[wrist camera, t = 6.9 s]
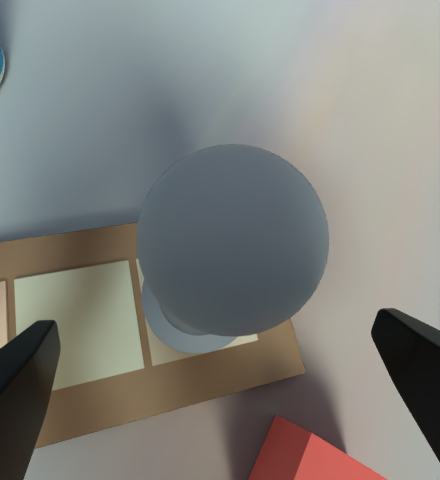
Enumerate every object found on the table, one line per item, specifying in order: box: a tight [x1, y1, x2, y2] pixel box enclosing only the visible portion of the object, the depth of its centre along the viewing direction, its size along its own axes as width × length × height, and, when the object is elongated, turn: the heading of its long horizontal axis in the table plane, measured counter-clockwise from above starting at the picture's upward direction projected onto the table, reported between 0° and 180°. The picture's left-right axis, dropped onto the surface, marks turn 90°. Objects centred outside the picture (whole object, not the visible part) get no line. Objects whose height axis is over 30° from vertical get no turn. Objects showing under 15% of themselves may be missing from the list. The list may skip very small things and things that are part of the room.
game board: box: [0, 222, 306, 449], centre depth 17 cm, size 22×10×1 cm, turn 103°
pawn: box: [137, 145, 329, 354], centre depth 12 cm, size 6×6×12 cm
